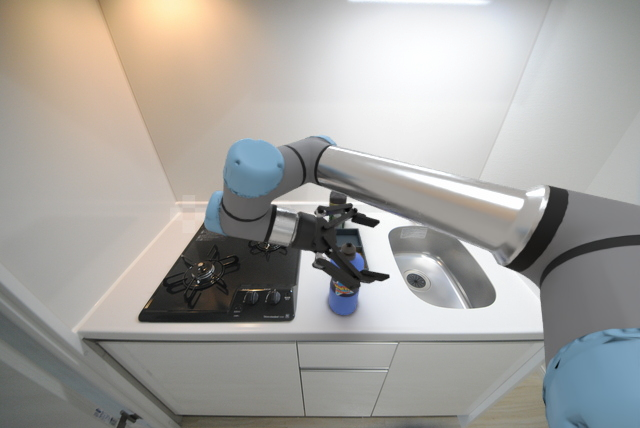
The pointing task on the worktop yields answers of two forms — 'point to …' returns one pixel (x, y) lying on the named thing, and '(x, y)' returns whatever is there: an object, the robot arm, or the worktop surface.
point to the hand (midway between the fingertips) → (380, 249)
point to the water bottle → (339, 295)
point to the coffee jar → (337, 200)
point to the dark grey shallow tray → (351, 241)
